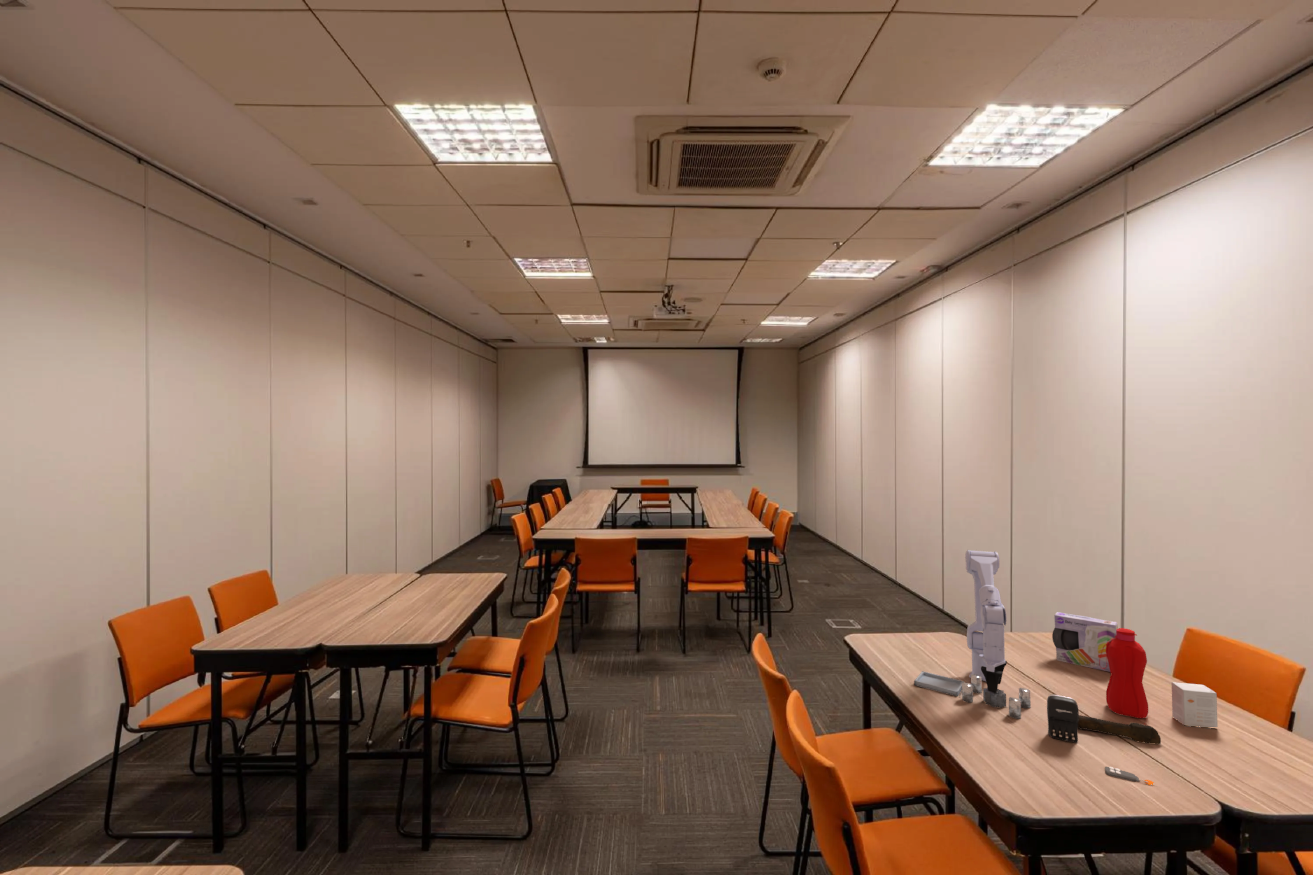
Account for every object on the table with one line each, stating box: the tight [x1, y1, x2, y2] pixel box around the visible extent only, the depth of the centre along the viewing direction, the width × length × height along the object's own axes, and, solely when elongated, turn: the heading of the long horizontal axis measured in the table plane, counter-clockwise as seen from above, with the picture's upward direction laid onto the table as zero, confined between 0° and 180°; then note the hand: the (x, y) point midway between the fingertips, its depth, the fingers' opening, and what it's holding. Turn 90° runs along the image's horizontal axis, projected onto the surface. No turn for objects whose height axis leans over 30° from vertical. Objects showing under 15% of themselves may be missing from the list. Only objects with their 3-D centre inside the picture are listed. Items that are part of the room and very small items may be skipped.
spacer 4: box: [1018, 687, 1032, 709], centre depth 169 cm, size 3×3×5 cm
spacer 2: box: [970, 674, 983, 694], centre depth 179 cm, size 3×3×5 cm
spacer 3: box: [1008, 697, 1022, 720], centre depth 163 cm, size 3×3×5 cm
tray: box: [913, 670, 965, 697], centre depth 184 cm, size 10×13×2 cm
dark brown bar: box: [1078, 714, 1162, 745], centre depth 152 cm, size 19×4×5 cm, turn 56°
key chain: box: [1104, 766, 1155, 786], centre depth 132 cm, size 13×4×2 cm, turn 55°
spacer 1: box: [961, 682, 974, 703], centre depth 173 cm, size 3×3×5 cm
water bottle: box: [1099, 627, 1149, 720], centre depth 166 cm, size 9×11×25 cm
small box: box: [1171, 681, 1219, 728], centre depth 158 cm, size 8×6×10 cm
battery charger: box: [1046, 694, 1080, 743], centre depth 150 cm, size 7×4×11 cm, turn 61°
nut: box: [982, 687, 1007, 709], centre depth 171 cm, size 6×6×4 cm
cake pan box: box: [1051, 611, 1119, 673], centre depth 200 cm, size 19×5×18 cm, turn 42°
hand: (994, 687), depth 171 cm, fingers open, 7 cm apart
